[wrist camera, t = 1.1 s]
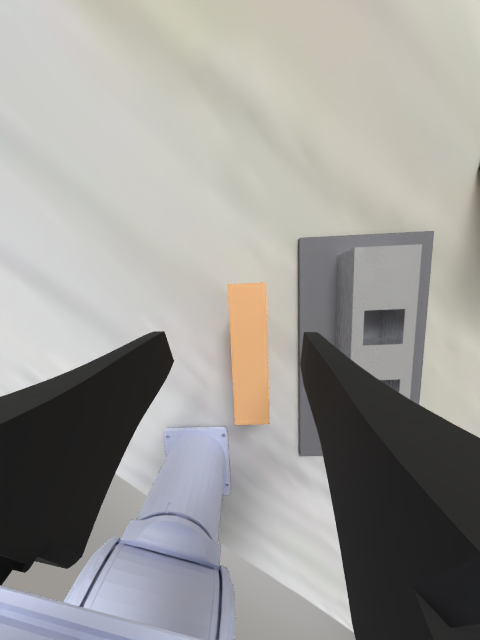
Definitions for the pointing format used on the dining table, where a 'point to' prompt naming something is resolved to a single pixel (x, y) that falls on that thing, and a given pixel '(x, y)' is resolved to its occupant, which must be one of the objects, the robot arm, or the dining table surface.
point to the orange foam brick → (249, 352)
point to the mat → (321, 307)
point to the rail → (379, 294)
